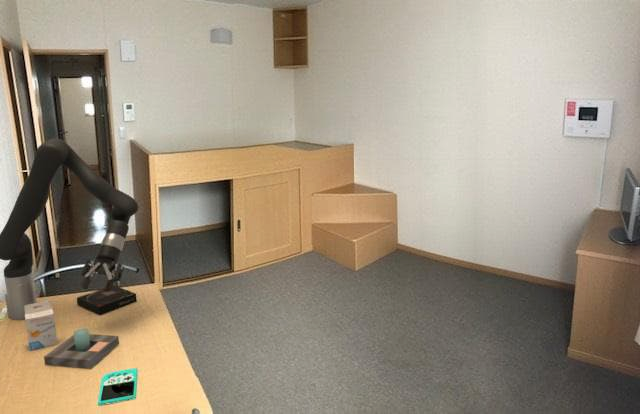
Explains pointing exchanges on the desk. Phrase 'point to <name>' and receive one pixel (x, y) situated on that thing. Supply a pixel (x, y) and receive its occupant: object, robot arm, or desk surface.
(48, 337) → the ink box
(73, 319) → the desk surface
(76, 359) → the holder
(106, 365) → the desk surface
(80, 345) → the peg
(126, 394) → the handheld game console
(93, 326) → the desk surface
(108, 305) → the portable cd player
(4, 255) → the robot arm
